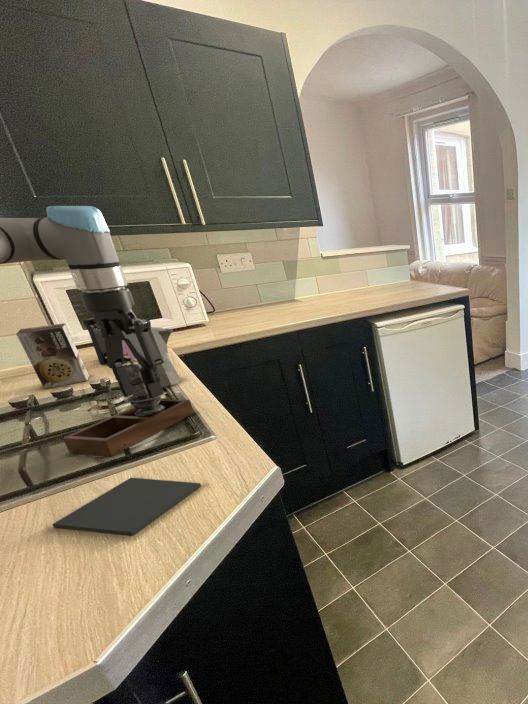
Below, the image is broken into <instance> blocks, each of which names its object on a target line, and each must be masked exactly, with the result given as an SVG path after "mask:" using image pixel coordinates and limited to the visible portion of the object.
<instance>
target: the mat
mask: <svg viewBox="0 0 528 704" xmlns="http://www.w3.org/2000/svg"><path fill="white" fill-rule="evenodd" d="M201 487H202V484H201V483H200V482H192V481H191V482H189V481H178V480H177V481H176V480H166V479H165V480H163V479H153V478H139V477H129V478H127V479H126V480H123V481H122V482H121V483H119V484H117V485H116V486H114V487H113V488H111V489H109V490H108V491H106V492H104V493H103V494H101V495H99V496H96V498H94V499H92V500H91V501H89V502H87V503H86V504H84V505H82V506H81V507H79V508H77V509H75V510H74V511H72V512H70V513H69V514H67V515H65V516H64V517H62V518H60V519H59V520H57V521H55V522H54V523H52V524H51V525H52V526H53V528H56V529H57V528H58V529H66V530H75V531H76V530H77V531H84V532H85V531H86V532H94V533H95V532H97V533H104V534H107V533H108V534H115V535H116V534H117V535H124V536H134V535H136V534H137V533H139V532H140V531H141V530H143V529H144V528H146V527H147V526H148V525H150V524H151V523H153V521H155V520H156V519H158V518H159V517H161V516H163V514H165V513H166V512H167V511H169V510H170V509H172V508H173V507H174V506H176V505H177V504H178V503H180V502H181V501H183V500H184V499H186V498H187V497H188V496H189V495H191V494H193V492H195V491H196V490H198V489H199V488H201Z"/></svg>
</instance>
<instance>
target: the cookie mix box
mask: <svg viewBox="0 0 528 704" xmlns="http://www.w3.org/2000/svg"><path fill="white" fill-rule="evenodd" d="M16 337H17V338H18V341H19V342H20V344H21V347H22V348H23V350H24V353H25V354H26V356H27V358H28V361H29V362H30V364H31V366H32V368H33V370H34V373H35V374H36V376H37V378H38V380H39V382H40V384H41V386H42V388H43V390H47V389H51V388H56V387H57V388H58V387H62V386H66V385H67V386H68V385H71V384H76V383H83V382H87V381H88V379H89V377H90V375H89V371H88V370H87V368H86V366H85V364H84V362H83V360H82V358H81V354H80V353H79V351H78V349H77V346H76V343H75V342H74V340H73V337H72V335H71V333H70V330H69V329H68V326H67V325H66V323H65V322H64V323H55V324H48V325H41V326H33V327H26V328H21V329H19V330H18V331H17V332H16Z"/></svg>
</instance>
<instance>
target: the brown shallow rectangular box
mask: <svg viewBox="0 0 528 704" xmlns="http://www.w3.org/2000/svg"><path fill="white" fill-rule="evenodd" d="M157 405H162V406H164V407H165V408H164V410H162V411H160V412H158V413H155V414H151V415H146V416H136V415H135V412H136V411H137V410H139V409H138V408H135V407H134V406H132V407H129V408H127V409H125V410H122V411H121V412H118V413H116V414H114V415H111V416H109V417H106V418H105V419H102V420H100V421H98V422H95V423H93V424H91V425H89V426H86V427H84V428H82V429H80V430H77V431H75V432H73V433H71V434H67V435H66V436H64V437H62V440H63V443H64V445H65V446H66V449H67V450H68V453H69V454H72V455H73V454H76V455H89V456H103V457H113V456H116V455H117V454H119V453H121V452H123V451H125V450H127V449H129V448H131V447H133V446H135V445H137V444H139V443H141V442H143V441H144V440H146V439H148V438H150V437H152V436H153V435H156V434H158V433H159V432H161V431H163V430H166V429H167V428H169V427H171V426H173V425H174V424H177V423H178V422H180V421H182V420H184V419H187V418H188V417H190V416H192V415H194V414H195V412H194V408H193V405H192V403H191V401H190V399H179V398H178V399H177V398H176V399H175V398H161V400H160V402H159V404H157ZM124 444H126V445H125V446H123V445H124Z"/></svg>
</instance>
